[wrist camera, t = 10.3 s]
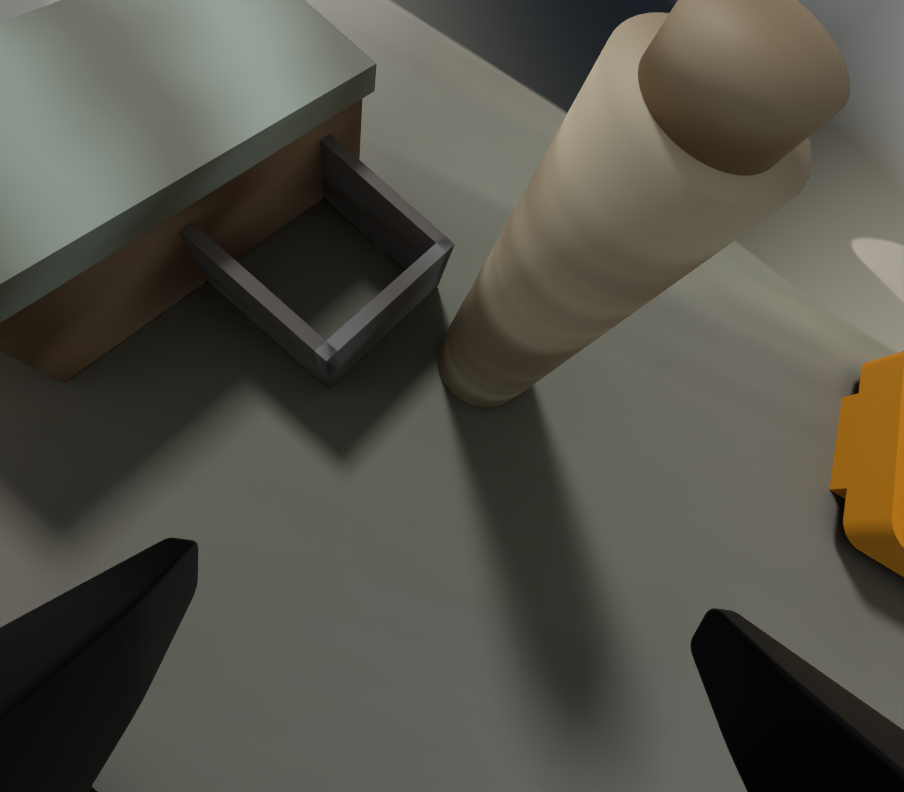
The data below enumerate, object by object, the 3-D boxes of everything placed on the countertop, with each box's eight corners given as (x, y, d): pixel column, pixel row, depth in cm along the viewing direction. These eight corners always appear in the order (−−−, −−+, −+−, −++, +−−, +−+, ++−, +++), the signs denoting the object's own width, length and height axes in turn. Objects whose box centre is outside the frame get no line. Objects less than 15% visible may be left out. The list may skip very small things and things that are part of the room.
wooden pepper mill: (490, 427, 17) (838, 207, 5) (418, 362, 17) (595, -7, 5) (542, 362, 19) (907, 74, 7) (475, 303, 19) (719, -93, 7)
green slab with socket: (196, 514, 14) (123, 510, 9) (-87, 262, 14) (-304, 131, 9) (465, 260, 19) (504, 176, 15) (260, 78, 19) (234, -62, 15)
